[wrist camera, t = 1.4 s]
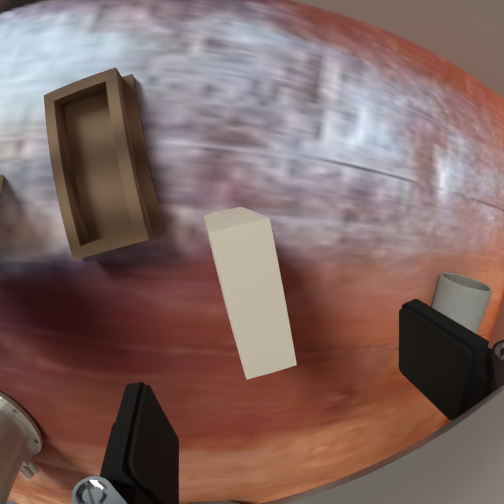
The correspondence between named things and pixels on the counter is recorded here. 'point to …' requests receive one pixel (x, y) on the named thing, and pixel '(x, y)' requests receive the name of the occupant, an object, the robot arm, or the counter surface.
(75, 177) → the brown wooden tray
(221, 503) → the brain slice
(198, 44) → the counter surface
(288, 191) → the counter surface
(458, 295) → the ceramic mug
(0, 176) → the toy refrigerator
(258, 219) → the rectangular block
